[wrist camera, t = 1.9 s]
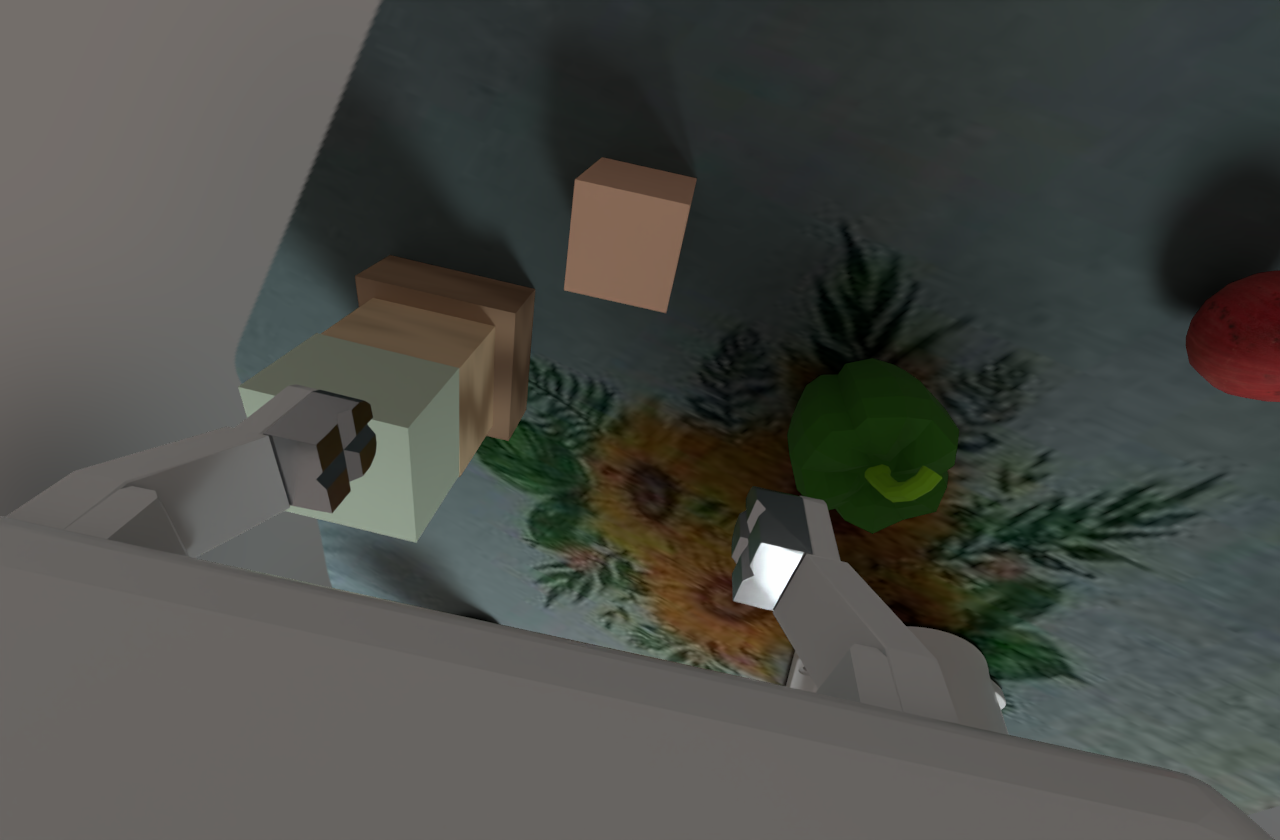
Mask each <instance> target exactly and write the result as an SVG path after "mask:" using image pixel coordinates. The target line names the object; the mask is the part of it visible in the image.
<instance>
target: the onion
mask: <svg viewBox="0 0 1280 840" xmlns="http://www.w3.org/2000/svg"><path fill="white" fill-rule="evenodd" d="M1186 349H1187V354H1188V358H1189V363H1190V364H1191V365H1192V366H1193V368H1194V369H1195V370H1196V371H1197V372H1198V373H1199V374H1200V375H1201V376H1203V377H1204V378H1205V379H1206V380H1207V381H1208V382H1209V383H1210V384H1211V385H1212V386H1214V387H1215V388H1217V389H1219V390H1221V391H1223V392H1225V393H1227V394H1231V395H1235V396H1240V397H1245V398H1250V399H1256V400H1262V401H1273V402H1280V271H1269V272H1262V273H1257V274H1254V275H1251V276H1248V277H1246V278H1243V279H1240V280H1238V281H1235V282H1232V283H1230V284H1228V285H1227V286H1225V287H1224V288H1223V289H1221V290H1220V291H1219V292H1217V293H1216V294H1214V295H1213V296H1212V297H1210V298H1209V299H1208V300H1206V301H1205V302H1204V304H1203V305H1202V306H1201V308H1200V309H1199V310H1198V312H1197V313H1196V314H1195V316H1194V317H1193V318H1192V320H1191V323H1190V326H1189V329H1188V332H1187V335H1186Z"/></svg>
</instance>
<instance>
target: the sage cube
mask: <svg viewBox="0 0 1280 840" xmlns="http://www.w3.org/2000/svg"><path fill="white" fill-rule="evenodd" d="M295 384H297V385H301V386H305V387H309V388H313V389H317V390H323V391H328V392H332V393H336V394H340V395H344V396H348V397H352V398H356V399H360V400H365V401H366V402H368V403H369V404H371V409H372V414H373V418H372V419H371V420H370V421H369V423H368V426H369V427H370V428H371V429H372V430H373V432H374V433H375V434H376V441H377V446H376V454H375V457H374V459H373V462H372V464H371V467H370V468H369V469H368V470H367V472H366V473H365V474H364V476H362V477H360V478H358V479H355V480H353V481H351V482H350V488H351V491H350V493H349V494H348V495H347V496H346V497H345V499H344V500H343V501H342V502H341V504H340V505H339V506H338V507H337V508H336V510H335V511H334V512H333V513H327V512H322V511H316V510H311V509H306V508H301V507H295V506H290V508H289V509H287V510H285V511H288V512H292V513H296V514H300V515H304V516H309V517H313V518H317V519H321V520H325V521H329V522H333V523H337V524H341V525H345V526H349V527H354V528H358V529H362V530H366V531H370V532H374V533H378V534H382V535H387V536H391V537H395V538H399V539H403V540H407V541H411V542H415V543H416V542H417V541H418V539H419V538H420V536H421V535H422V533H423V531H424V530H425V528H426V527H427V525H428V523H429V522H430V520H431V519H432V517H433V516H434V514H435V512H436V511H437V509H438V508H439V506H440V505H441V503H442V501H443V500H444V498H445V497H446V495H447V493H448V492H449V490H450V489H451V487H452V486H453V484H454V482H455V481H456V479H457V478H458V476H459V368H457V367H453V366H449V365H445V364H441V363H437V362H432V361H428V360H424V359H420V358H416V357H412V356H408V355H404V354H400V353H396V352H392V351H387V350H383V349H379V348H375V347H371V346H367V345H363V344H359V343H355V342H351V341H347V340H343V339H338V338H334V337H330V336H326V335H322V334H318V333H316V334H315V335H313V336H312V337H310V338H309V339H307V340H306V341H304V342H303V343H301V344H300V345H299V346H297V347H296V348H294V349H293V350H291V351H290V352H288V353H287V354H285V355H284V356H282V357H281V358H280V359H278V360H277V361H275V362H274V363H272V364H271V365H269V366H268V367H266V368H265V369H263V370H262V371H261V372H259V373H258V374H256V375H255V376H253V377H252V378H250V379H249V380H247V381H246V382H244V383H243V384H241V385H240V386H239V387H238V388H239V391H240V395H241V398H242V402H243V405H244V409H245V412H246V415H247V418H248V417H249V416H250V415H252V414H253V413H254V412H255V411H257V410H258V409H259V408H260V407H262V406H263V405H264V404H266V403H267V402H268V401H269V400H271V399H272V398H273V397H274V396H276V395H277V394H278V393H280V392H281V391H282V390H283V389H285V388H286V387H287V386H290V385H295Z"/></svg>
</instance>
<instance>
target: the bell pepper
mask: <svg viewBox="0 0 1280 840" xmlns="http://www.w3.org/2000/svg"><path fill="white" fill-rule="evenodd" d="M958 436H959V429H958V428H957V426H956V425H955V423H954V422H953V420H952V419H951V417H950V415H949V414H948V412H947V411H946V409H945V408H944V407H943V406H942V405H941V404H940V403H939V401H938V400H937V399H936V398H935V397H934V396H933V395H932V394H931V393H930V392H929V390H928V389H927V388H926V387H925V386H924V385H923V384H922V383H921V382H920V381H919V380H918V379H916V378H915V377H913V376H912V375H911V374H909V373H908V372H906V371H905V370H903V369H901V368H899V367H897V366H896V365H893V364H890V363H887V362H884V361H880V360H877V359H874V358H871V359H866V360H861V361H856V362H851V363H846V364H845V365H844V366H843V368H842V369H841V371H840V372H839V374H838V375H821V376H819V377H817V378H816V379H815V380H813V381H812V382H810V383H809V384H808V385H806V387H805V389H804V391H803V393H802V395H801V397H800V399H799V401H798V403H797V405H796V408H795V411H794V413H793V416H792V418H791V422H790V426H789V430H788V434H787V437H788V446H789V455H790V460H791V464H792V469H793V473H794V478H795V482H796V487H797V490H798V491H799V492H800V493H801V494H802V495H803V496H804V497H809V498H815V499H820V500H824V501H825V503H826V504H827V507H828V510H831V509H836V510H837V512H838V513H839V514H840V515H841V516H842V518H843V519H844V520H845V521H848V522H850V523H852V524H854V525H856V526H858V527H860V528H862V529H864V530H866V531H868V532H870V533H872V534H873V533H875V532H877V531H879V530H881V529H884V528H886V527H888V526H890V525H892V524H895V523H897V522H899V521H901V520H904V519H908V518H912V517H916V516H920V515H924V514H928V513H933V512H936V510H937V508H938V506H939V504H940V501H941V499H942V497H943V495H944V492H945V490H946V488H947V482H948V472H947V470H948V469H950V468H951V467H953V466H954V463H955V458H956V452H957V445H958Z"/></svg>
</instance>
